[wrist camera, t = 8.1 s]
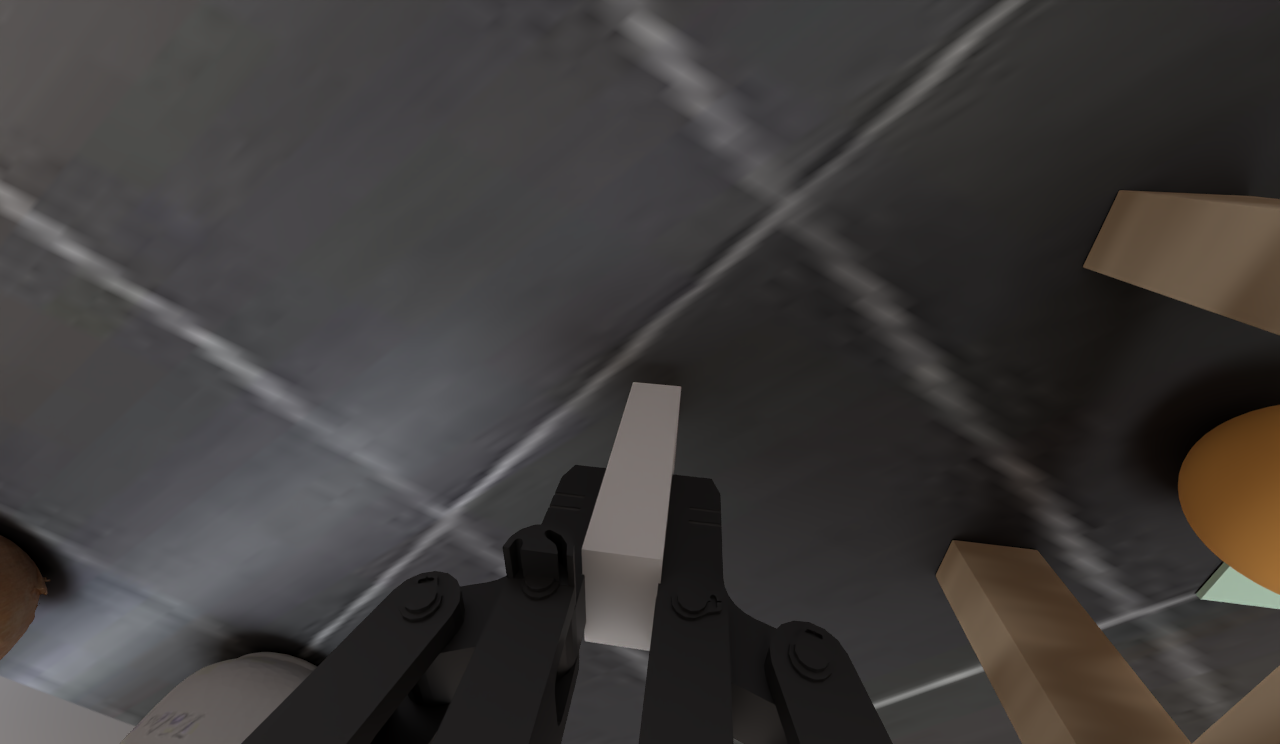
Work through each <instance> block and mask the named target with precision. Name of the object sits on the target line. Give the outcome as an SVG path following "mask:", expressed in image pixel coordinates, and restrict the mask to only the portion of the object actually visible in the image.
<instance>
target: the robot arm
mask: <svg viewBox="0 0 1280 744" xmlns="http://www.w3.org/2000/svg"><path fill="white" fill-rule="evenodd" d="M680 396H681V386H671V385H660V384H649V383H638V382H633V384H632V387H631V390H630V394H629V397H628V400H627V403H626V407H625V410H624V413H623V416H622V420H621V423H620V426H619V429H618V433H617V436H616V439H615V442H614V446H613V449H612V452H611V455H610V459H609V462H608V465H607V468H598V467H589V466H580V465H575V466H574V467H572V468H571V469H570V470H569V471H568V472H567V473H566V474H565V475H564V476H563V477H562V478H561V480H560V483H559V485H558V487H557V490H556V492H555V495H554V497H553V499H552V501H551V504H550V508H548V511H547V513H546V515H545V517H544V520H543V522H542V524H541V525H533V526H530V527H527V528H524V529H521V530H520V531H518V532H517V533H515V534H514V535H512V536H511V537H510V538H509V539H508V541H507V542H506V543H505V545H504V546H503V553H504V560H505V566H506V573H507V576H505V577H503V578H501V579H499V580H495V581H491V582H487V583H481V584H474V585H468V586H462V587H460V586H459V584H458V581H457V580H456V579H455V578H454V577H452V576H451V575H449V574H448V573H443V572H437V571H434V572H427V573H421V574H419V575H417V576H414V577H412V578H410V579H407V580H406V581H405V582H403V583H402V584H401V585H399V586H398V587H397V588H396V589H394V590H393V591H392V592H391V593H390V594H389V595H388V596H387V597H386V598H385V599H384V600H383V601H382V602H381V603H380V604H379V605H378V606H377V607H376V608H375V609H374V610H373V611H372V612H371V613H370V614H369V615H368V616H367V617H366V618H365V619H364V620H363V621H362V622H361V623H360V624H359V625H358V626H357V627H356V628H355V629H354V630H353V631H352V632H351V633H350V634H349V636H348V637H347V638H346V639H345V640H344V641H343V642H342V643H341V644H340V645H339V646H338V647H337V648H336V649H335V650H334V651H333V652H332V653H331V654H330V655H329V656H328V657H327V658H326V659H325V660H324V661H323V662H322V663H321V664H320V665H319V666H318V667H317V668H316V669H315V670H314V671H313V672H312V673H311V674H310V675H309V676H308V677H307V678H306V679H305V680H304V681H303V682H302V683H301V684H300V685H299V686H298V687H297V688H296V689H295V690H294V691H293V692H292V693H291V694H290V695H289V696H288V697H287V698H286V699H285V700H284V701H283V702H282V703H281V704H280V705H279V706H278V707H277V708H276V709H275V710H274V711H273V712H272V713H271V714H270V715H269V716H268V717H267V718H266V719H265V720H264V721H263V722H262V723H261V724H260V725H259V726H258V727H257V728H256V729H255V730H254V731H253V732H252V733H251V734H250V735H249V736H248V737H247V738H246V739H245V740H244V741H243V742H242V743H241V744H561V741H562V737H563V733H564V729H565V724H566V720H567V716H568V712H569V708H570V704H571V700H572V695H573V691H574V687H575V683H576V679H577V675H578V670H579V649H580V645H581V641H582V637H583V633H585V641H588V642H594V643H601V644H608V645H614V646H621V647H627V648H634V649H640V650H647V651H650V652H649V661H648V669H647V678H646V686H645V695H644V704H643V712H642V721H641V729H640V738H639V744H733V738H735V739H736V740H738V741H740V742H742V743H743V744H893V743H892V741H891V739H890V737H889V735H888V733H887V731H886V729H885V727H884V725H883V723H882V721H881V719H880V717H879V715H878V713H877V712H876V710H875V708H874V706H873V704H872V702H871V700H870V698H869V696H868V694H867V692H866V690H865V688H864V686H863V684H862V682H861V680H860V678H859V676H858V674H857V672H856V670H855V668H854V666H853V664H852V662H851V660H850V658H849V656H848V654H847V653H846V651H845V650H844V648H843V647H842V646H841V644H840V643H839V641H838V640H837V639H836V638H834V637H833V636H832V635H831V634H830V633H828V632H827V631H826V630H825V629H823V628H821V627H818V626H816V625H814V624H812V623H809V622H802V621H791V622H788V623H785V624H781V625H780V626H779V627H778V628H777V629H776V628H774V627H771V626H769V625H767V624H765V623H763V622H760V621H758V620H756V619H754V618H752V617H751V616H749V615H747V614H746V613H744V612H743V611H742V610H741V609H739V608H738V607H737V606H736V605H735V604H734V602H733V601H732V600H731V599H730V597H729V596H728V593H727V591H726V589H725V587H724V581H723V562H722V532H721V502H720V493H719V491H718V489H717V488H716V486H715V484H714V483H713V481H712V479H707V478H698V477H689V476H680V475H673V474H674V465H675V455H676V443H677V431H678V419H679V408H680Z"/></svg>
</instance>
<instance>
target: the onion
mask: <svg viewBox="0 0 1280 744" xmlns="http://www.w3.org/2000/svg"><path fill="white" fill-rule="evenodd" d="M46 578H47V577H42V575H41V573H40V571H39V569H38V567H37V566H36V564H35V563H34V561H33V560H32V559H31V558H30V557H29V556H28V554H27V553H26V552H24V551H23V550H22V549H21V548H20V547H19V546H17V545H16V544H15V543H13V542H12V541H11V540H9V539H7V538H5V537H3V536H1V535H0V660H1V659H2V658H3V657H4V656H5V655H6V654H7V653H8V652H9V651H10V650H11V648H12V647H13V646H14V645H15V644H16V643H17V641H18V640H19V639H20V638H21V637H22V636H23V634H24V633H25V632H26V630H27V629H28V627H29V625H30V624H31V623H32V622H33V620H34V617H35V614H34V613H35V610H36V608H37V606H38V605H37V604H38V600H39V595H41V594H44V595H47V594H48V593H47V587H46V584H45V582H48V581H51V579H49V580H47V579H46Z"/></svg>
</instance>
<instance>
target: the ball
mask: <svg viewBox="0 0 1280 744" xmlns="http://www.w3.org/2000/svg"><path fill="white" fill-rule="evenodd" d="M1178 494H1179V500H1180V503H1181V507H1182V510H1183V512H1184V515H1185V517H1186V519H1187V521H1188V523H1189V524H1190V526H1191V527H1192V529H1193V530H1194V532H1195V533H1196V535H1197V536H1198V537H1199V538H1200V539H1201V541H1202V542H1203V543H1204V544H1205V545H1206V546H1207V547H1208V548H1209V549H1210V550H1211V551H1212V552H1213V553H1214V554H1215V555H1216V556H1218V557H1219V558H1220V559H1221V560H1222V561H1224V562H1225V563H1226V564H1228V565H1229V566H1230V567H1232V568H1233V569H1234V570H1236V571H1237V572H1239V573H1240V574H1242V575H1244V576H1245V577H1247V578H1248V579H1250V580H1252V581H1253V582H1255V583H1257V584H1259V585H1261V586H1263V587H1265V588H1266V589H1268V590H1270V591H1272V592H1274V593H1276V594H1279V595H1280V405H1275V406H1270V407H1266V408H1262V409H1258V410H1254V411H1250V412H1248V413H1245V414H1242V415H1240V416H1237V417H1234V418H1232V419H1230V420H1228V421H1226V422H1224V423H1222V424H1220V425H1218V426H1217V427H1215V428H1214V429H1212V430H1211V431H1209V432H1208V433H1206V434H1205V435H1204V436H1203V437H1202V438H1201V439H1200V440H1199V441H1197V442H1196V443H1195V444H1194V446H1193V447H1192V448H1191V450H1190V451H1189V452H1188V454H1187V456H1186V457H1185V459H1184V461H1183V463H1182V466H1181V469H1180V472H1179V478H1178Z"/></svg>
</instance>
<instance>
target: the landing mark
mask: <svg viewBox="0 0 1280 744" xmlns="http://www.w3.org/2000/svg"><path fill="white" fill-rule="evenodd" d="M1196 595H1197V596H1198V597H1199V598H1200V599H1203V600H1211V601H1219V602H1227V603H1235V604H1243V605H1251V606H1259V607H1267V608H1275V609H1280V595H1279V594H1276V593H1274V592H1272V591H1270V590H1268V589H1266V588H1265V587H1263V586H1261V585H1259V584H1257V583H1255V582H1253V581H1252V580H1250V579H1248V578H1247V577H1245V576H1244V575H1242V574H1240V573H1239V572H1237V571H1236V570H1234V569H1233V568H1232V567H1230V566H1229V565H1228V564H1226V563H1225V562H1224V563H1223V564H1222V565H1221V566H1220V567H1219V568H1218V570H1217V571H1216V572H1215V573H1214V574H1213V575H1212V576H1211V577H1210V579H1209V580H1208V581H1207V582H1206V583H1205V584H1204V585H1203V587H1202V588H1201V589H1200V590H1199V591H1198V592H1197V593H1196Z"/></svg>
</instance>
